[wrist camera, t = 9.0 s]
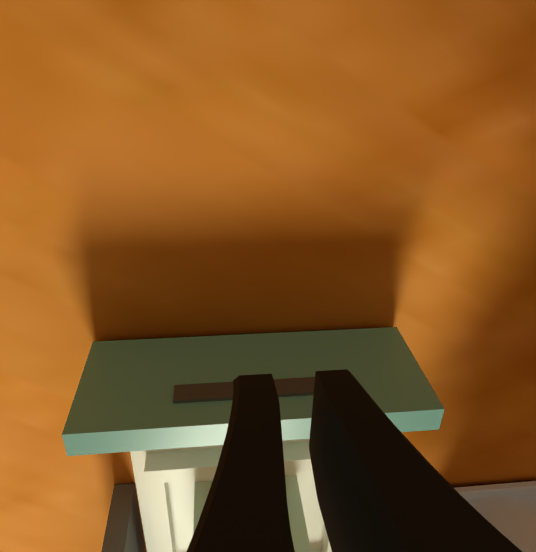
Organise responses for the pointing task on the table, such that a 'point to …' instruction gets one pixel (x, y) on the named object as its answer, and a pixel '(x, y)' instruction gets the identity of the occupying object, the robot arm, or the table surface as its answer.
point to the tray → (227, 409)
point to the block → (293, 505)
